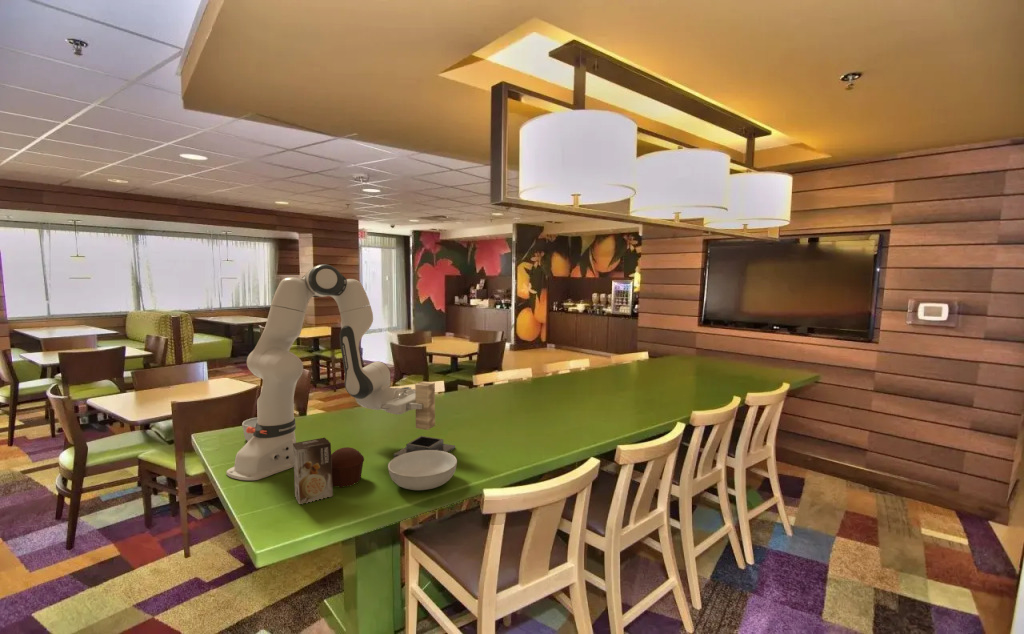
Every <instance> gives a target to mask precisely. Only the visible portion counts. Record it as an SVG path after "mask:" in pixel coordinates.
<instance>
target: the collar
mask: <svg viewBox="0 0 1024 634" xmlns="http://www.w3.org/2000/svg"><path fill="white" fill-rule="evenodd" d="M454 448H455V449H456V445H454V444H447V443H444V439H443V438H437V437H431V436H424V435H420V436H418V437H417V438H415V439H413V440H412V441H410V442H408V443H406V446H405V447H403V448H402V449H400V450H397V451H396V452H394V453H393V458H395V457H397V456H400V455H402V454H405V453H409V452H413V451H420V450H437V451H444V452H447V453H448V452H449V453H451V452H452V451H453V450H455V449H454ZM451 450H452V451H451Z"/></svg>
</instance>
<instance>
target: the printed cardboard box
mask: <svg viewBox="0 0 1024 634" xmlns="http://www.w3.org/2000/svg"><path fill="white" fill-rule="evenodd" d="M331 454H332V445H331V442H330V441H329V440H328V439H327V438H326V437H320V438H313V439H309V440H305V441H298V442H296V443H293V457H294V467H293V473H294V474H293V476H294V498H295V497H296V498H295V500H296V501H297V503H298V504H302V505H304V504H303V503H306V504H309V503H308V502H310V503H312V501H313V502H316V501H315V500H317V501H320V500H319V499H321V500H323V498H325V499H328V498H327V497H329V498H332V497H333V496H334V495H333V492H334V489H333V487H334V486H333V485H332V462H331Z"/></svg>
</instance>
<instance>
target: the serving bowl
mask: <svg viewBox="0 0 1024 634" xmlns="http://www.w3.org/2000/svg"><path fill="white" fill-rule="evenodd" d="M457 464H458V460H457V458H456V456H455V455H453V453H451V452H449V453H447V452H444V451H437V450H420V451H413V452H409V453H405V454H402V455H400V456H397V457H393V459H391V460H390V461H389V462H388V464H387V470H388V475H389V477H390V479H391V480H392V481H393V482H394V483H395V484H396V485H397V486H398V487H401V488H403V489H406V490H411V491H426V490H432V489H436V488H438V487H441V486H443V485H444V484H447V482H448V481H450V480H451V478H452V477H453V476H454V474H455V472H456V469H457Z"/></svg>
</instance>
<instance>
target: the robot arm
mask: <svg viewBox="0 0 1024 634" xmlns="http://www.w3.org/2000/svg"><path fill="white" fill-rule="evenodd" d="M324 297H325V298H326V297H331V298H332V299H334V301H335V302H336V304H337V307H338V311H339V314H340V320H341V321H340V322H341V328H340V332H339V346H340V350H341V357H342V362H343V364H342V365H343V369H344V387H345V390H346V392H347V393H348V395H350V396H351V397H353V398H355V402H356V403H357V404H358V405H359V406H361V407H363V408H366V409H369V410H374V411H379V410H381V411H385V412H386V413H388V414H393V415H403V414H405V413H407V412H409V411H412V410H416V409H422V408H424V404H423V403H418V404H416V401H415V388H412V387H410V386H405V387H391V382H392V381H391V379H392V377H391V375H392V374H391V369H390V368H389V366H388V365H387V364H386V363H384V362H383V361H377V360H376V361H374V362H372V363H369V364H367V365H365V366H364V367H363V366H362V360H361V355H360V346H359V345H360V343H361V340H362V338H363V336H364V335H365V333H366V332H368V331H369V329H370V328H371V327H372V324H373V322H374V315H373V314H374V313H373V309H372V307H371V302H370V300H369V297H368V295H367V292H366V289H365V288H364V286H363V284H362V282H361V281H359V280H357V279H355V278H346V277H345V276H344V274H342V273H341V272H340V271H339V270H338V269H337V268H336V267H334V266H332V265H330V264H328V263H327V264H326V263H324V264H318V265H315V266H313V267H311V268H310V269H309V270H308V271H307V272H306V273H305V274H304V275H303V276H302V277H301V278H298V277H291V276H290V277H285V278H282V279H281V281H280V282H279V284H278V286H277V288H276V290H275V292H274V294H273V298H272V300H271V304H270V308H269V311H268V315H267V319H266V323H265V327H264V329H263V331H262V333H261V336H260V337H259V339H258V341H257V343H256V345H255V347H254V348H253V350H252V351H251V352H250V353H249V354H248V356H247V357H246V366H247V369H248V371H250V372H251V373H252V374H253V376H254V377H257V378H259V379H262V387H261V391H260V395H259V397H257V401H256V406H257V407H256V410H257V411H256V412H257V413H256V414H257V418H258V422H257V424H256V426H255V428H254V427H247V428H248V429H246V432H247V433H253V437H252V438H251V439H250V440H249V441H247V442H246V443H245V444H244V446H242V447H241V449H239V450H238V451H237V453H236V455H235V458H234V466H232V467H230V468H229V469H227V470H226V475H227V476H228V477H229V478H232V479H236V480H240V481H259V480H261V479H264V478H267V477H270V476H273V475H274V474H278V473H281V472H284V471H287V470H289V469H292V468H294V457H293V443H297V439H296V432H295V431H296V425H297V423H296V418H295V409H294V408H295V406H294V403H295V402H294V398H295V397H294V396H295V393H296V392H295V391H296V387H297V382H298V380H299V379H300V378H301V376H302V374H303V372H304V363H303V361H302V360H301V359H300V357H299V356H297V355H296V354H295V353H293V352H291V351H290V349H291V348H292V346H293V344H294V343H295V341H296V340H297V339H298V338H299V337H300V336H301V333H302V329H303V325H304V322H305V321H304V320H305V317H306V313H307V308H308V304H309V302H310V300H311V299H312V298H324Z"/></svg>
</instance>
